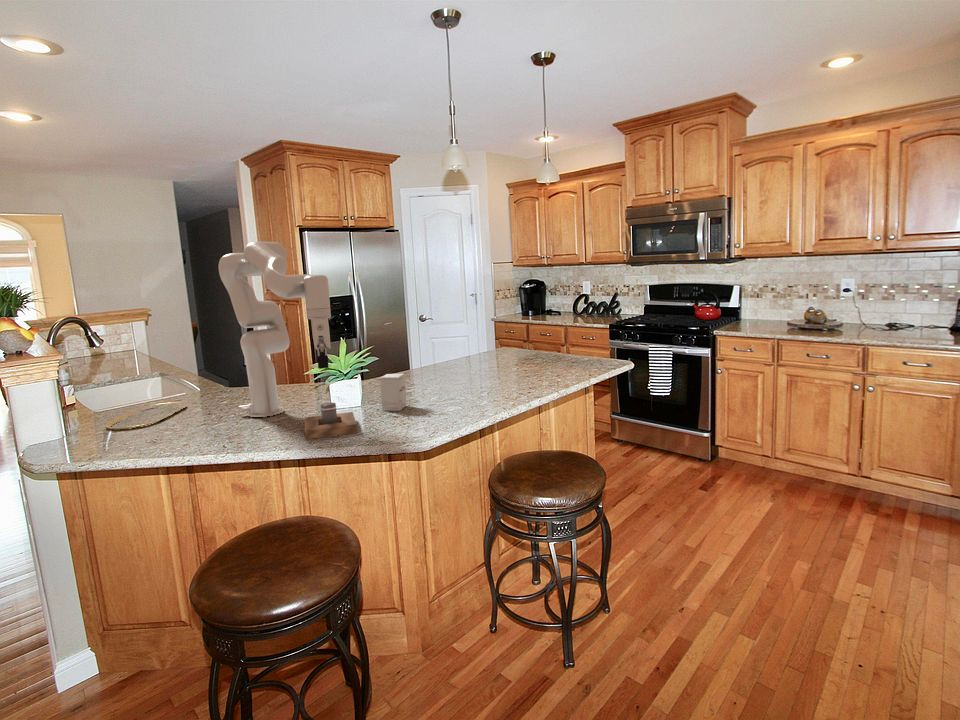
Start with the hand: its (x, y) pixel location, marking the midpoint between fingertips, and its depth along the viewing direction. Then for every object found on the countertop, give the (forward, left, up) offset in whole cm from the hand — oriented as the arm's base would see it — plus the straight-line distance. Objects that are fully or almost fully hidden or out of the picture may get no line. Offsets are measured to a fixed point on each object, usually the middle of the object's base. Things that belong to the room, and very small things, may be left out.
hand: (323, 365), depth 176 cm
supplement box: (+24, +14, -21) cm, 35 cm away
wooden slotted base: (0, -3, -21) cm, 21 cm away
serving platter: (-65, +47, -22) cm, 83 cm away
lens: (0, -3, -21) cm, 21 cm away
